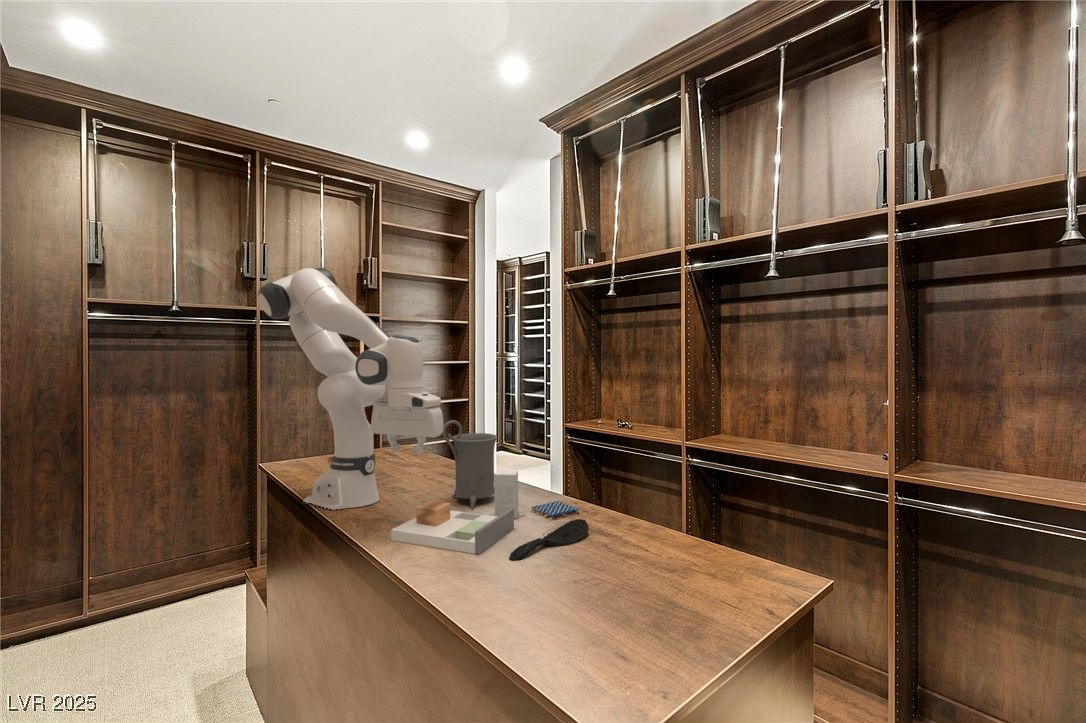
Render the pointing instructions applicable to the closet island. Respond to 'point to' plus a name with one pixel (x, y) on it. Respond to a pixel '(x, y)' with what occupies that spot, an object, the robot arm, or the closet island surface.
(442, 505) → the block
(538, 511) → the woven mat
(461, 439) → the mug
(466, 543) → the trap deck
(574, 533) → the hairbrush
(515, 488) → the skincare box
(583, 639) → the closet island surface
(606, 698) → the closet island surface
